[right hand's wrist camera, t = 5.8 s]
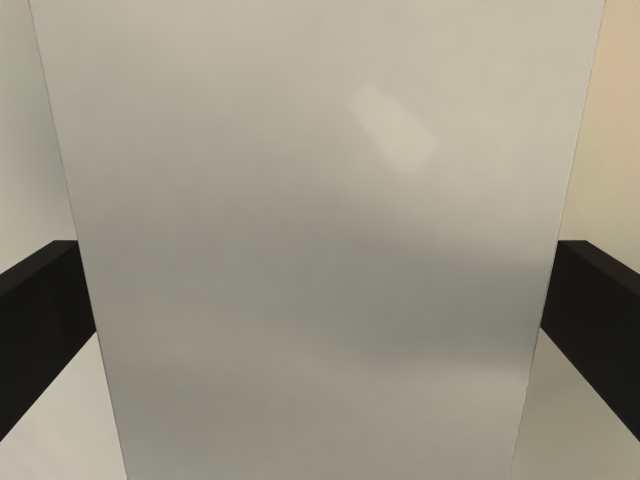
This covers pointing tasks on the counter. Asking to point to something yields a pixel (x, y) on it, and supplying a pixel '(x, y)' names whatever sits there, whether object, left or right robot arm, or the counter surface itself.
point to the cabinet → (317, 223)
